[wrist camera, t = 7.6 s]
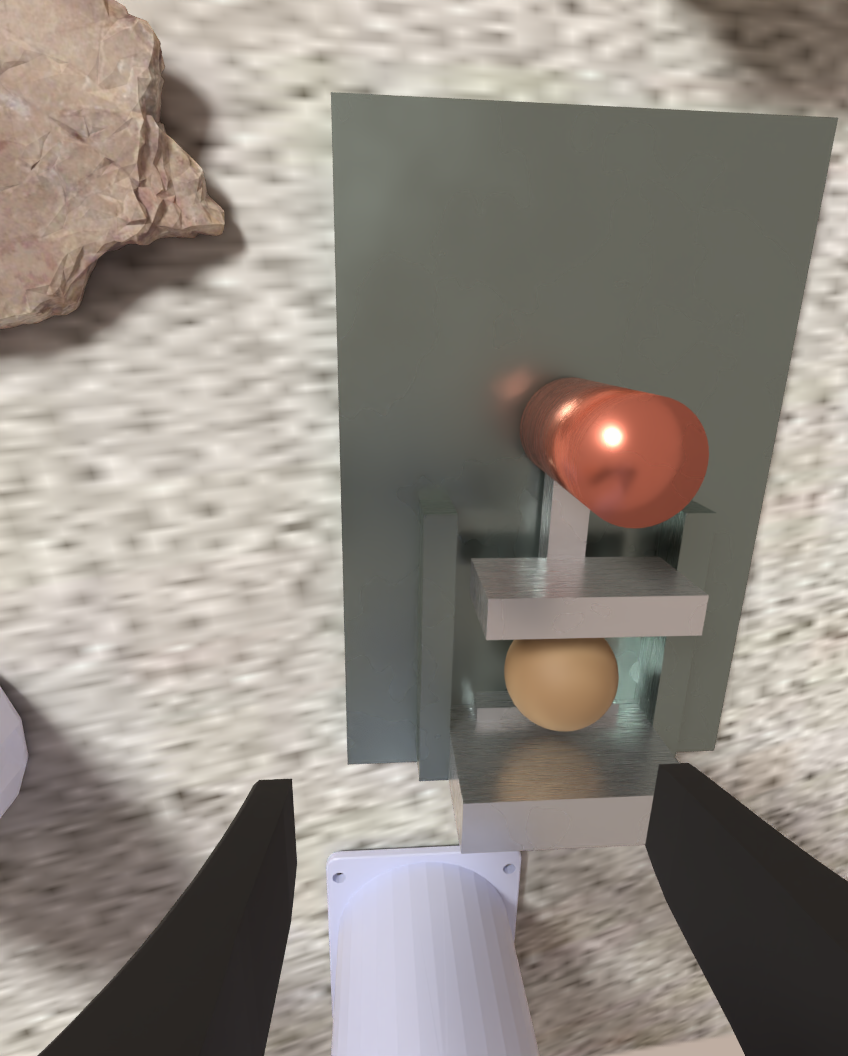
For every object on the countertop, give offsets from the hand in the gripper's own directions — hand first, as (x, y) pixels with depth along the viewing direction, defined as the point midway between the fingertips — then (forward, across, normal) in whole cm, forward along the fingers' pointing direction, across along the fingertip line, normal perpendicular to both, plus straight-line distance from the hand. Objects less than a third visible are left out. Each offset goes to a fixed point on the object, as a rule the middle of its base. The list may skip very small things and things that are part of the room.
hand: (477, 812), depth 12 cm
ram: (+9, -4, -4) cm, 11 cm away
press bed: (+10, -4, -4) cm, 12 cm away
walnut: (+9, -4, +2) cm, 10 cm away
